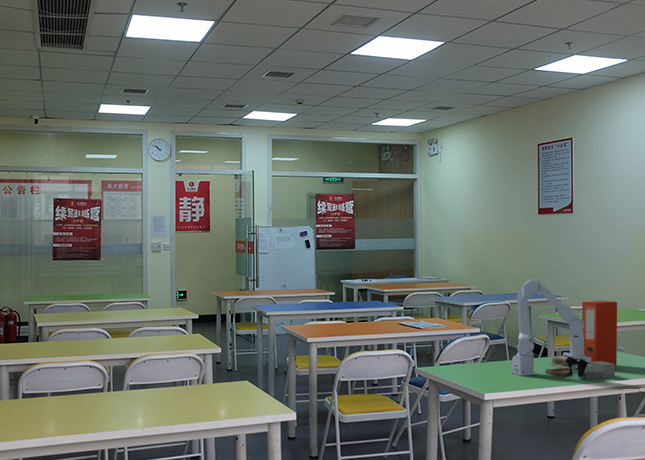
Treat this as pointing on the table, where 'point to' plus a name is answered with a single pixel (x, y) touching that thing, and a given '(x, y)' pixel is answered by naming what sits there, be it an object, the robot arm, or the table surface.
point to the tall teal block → (575, 371)
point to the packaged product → (559, 362)
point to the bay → (601, 370)
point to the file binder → (600, 330)
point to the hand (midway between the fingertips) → (576, 375)
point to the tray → (559, 372)
